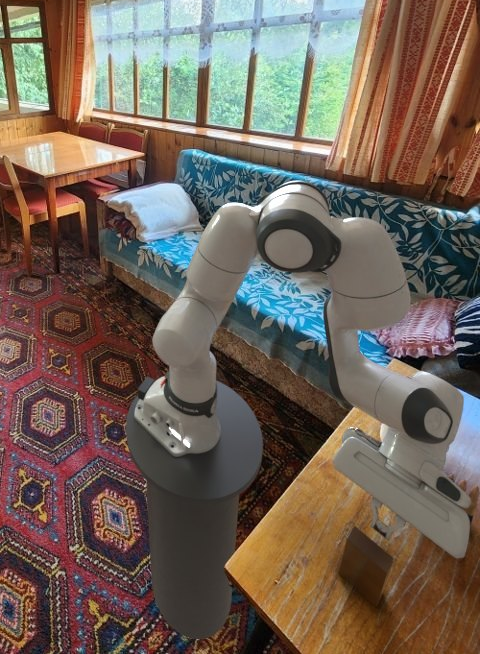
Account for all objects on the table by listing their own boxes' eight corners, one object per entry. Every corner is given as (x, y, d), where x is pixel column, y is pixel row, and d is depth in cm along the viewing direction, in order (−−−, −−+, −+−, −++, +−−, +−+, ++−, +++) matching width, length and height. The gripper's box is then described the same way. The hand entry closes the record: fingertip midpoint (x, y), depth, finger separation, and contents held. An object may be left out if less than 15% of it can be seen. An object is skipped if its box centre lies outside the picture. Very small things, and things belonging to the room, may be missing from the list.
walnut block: (338, 572, 67) (346, 538, 63) (345, 559, 68) (354, 525, 65) (376, 608, 62) (387, 573, 59) (382, 592, 64) (393, 558, 60)
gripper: (345, 420, 74) (316, 486, 72) (482, 507, 59) (451, 595, 57) (351, 423, 78) (324, 485, 76) (481, 506, 63) (451, 587, 61)
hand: (379, 533), depth 66 cm, fingers closed
